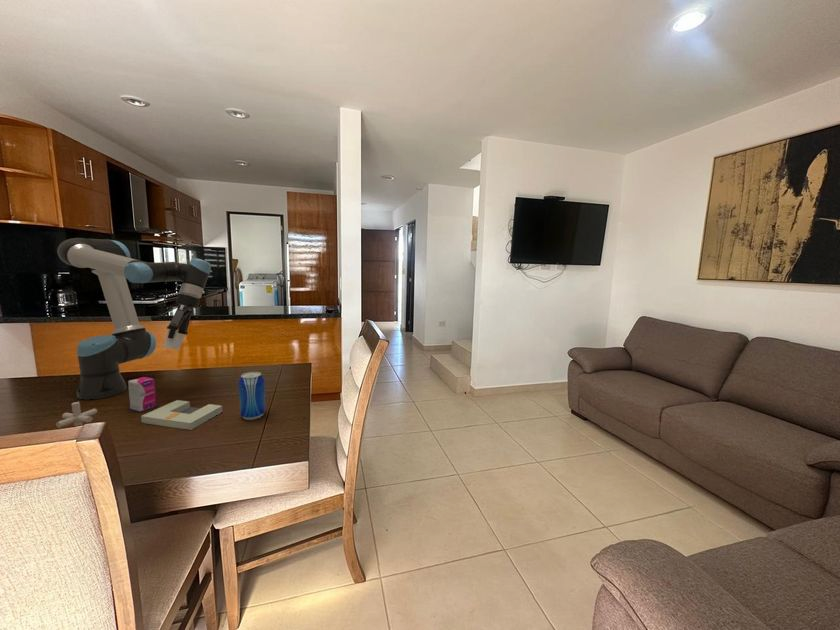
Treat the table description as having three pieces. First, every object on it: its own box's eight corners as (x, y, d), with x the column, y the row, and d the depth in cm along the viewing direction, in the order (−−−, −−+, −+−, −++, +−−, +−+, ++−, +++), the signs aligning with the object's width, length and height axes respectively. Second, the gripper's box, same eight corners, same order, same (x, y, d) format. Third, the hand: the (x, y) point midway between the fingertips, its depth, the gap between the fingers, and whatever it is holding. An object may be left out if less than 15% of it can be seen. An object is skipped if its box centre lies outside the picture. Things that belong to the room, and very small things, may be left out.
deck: (177, 406, 130) (177, 399, 130) (222, 412, 126) (222, 405, 126) (141, 422, 116) (140, 415, 116) (191, 430, 113) (190, 422, 112)
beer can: (241, 412, 127) (239, 372, 124) (265, 409, 130) (264, 369, 127) (239, 422, 119) (236, 379, 116) (265, 419, 122) (263, 377, 120)
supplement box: (140, 412, 124) (137, 383, 122) (130, 410, 125) (126, 380, 124) (157, 406, 129) (154, 378, 127) (146, 404, 131) (143, 376, 129)
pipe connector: (72, 442, 103) (68, 411, 102) (48, 437, 105) (43, 407, 104) (108, 426, 113) (105, 398, 111) (85, 422, 115) (81, 395, 113)
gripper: (195, 292, 124) (176, 348, 119) (204, 304, 147) (188, 351, 142) (171, 287, 121) (151, 344, 116) (184, 299, 144) (167, 348, 139)
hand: (171, 348), depth 129 cm, fingers open, 13 cm apart
